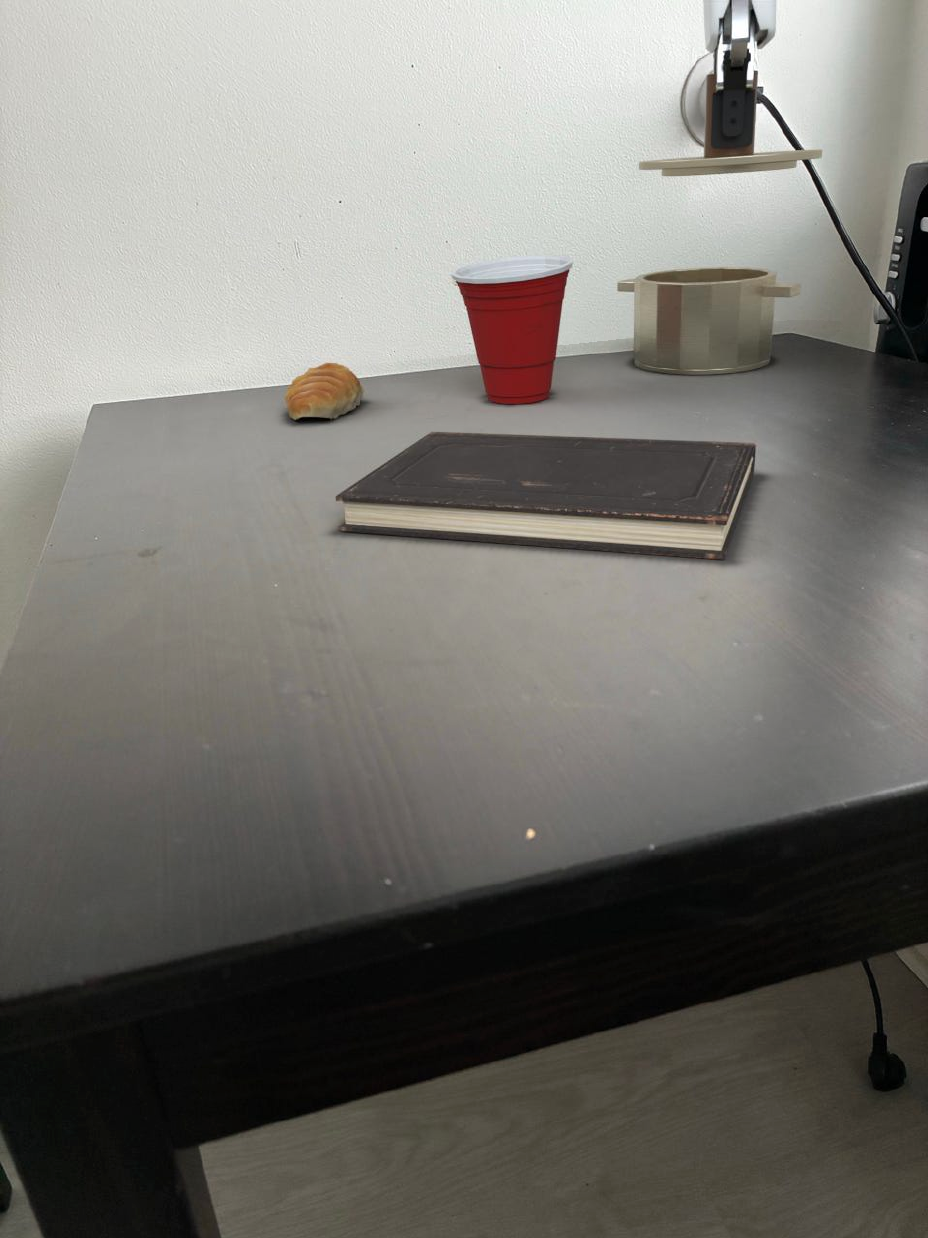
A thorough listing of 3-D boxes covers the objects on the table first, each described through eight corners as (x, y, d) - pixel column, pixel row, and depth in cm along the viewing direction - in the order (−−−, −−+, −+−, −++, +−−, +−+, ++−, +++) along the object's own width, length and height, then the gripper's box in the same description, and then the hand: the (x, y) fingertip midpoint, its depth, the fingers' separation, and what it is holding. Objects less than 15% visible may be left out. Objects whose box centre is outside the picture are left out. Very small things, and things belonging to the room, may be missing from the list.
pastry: (347, 423, 87) (342, 379, 85) (272, 427, 87) (266, 383, 86) (367, 399, 95) (363, 359, 94) (298, 402, 96) (293, 362, 94)
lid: (690, 170, 92) (693, 82, 89) (849, 162, 83) (857, 64, 80) (605, 180, 82) (604, 81, 79) (774, 172, 73) (781, 60, 70)
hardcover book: (724, 560, 53) (726, 519, 52) (339, 531, 61) (335, 495, 60) (754, 474, 67) (756, 440, 66) (436, 459, 74) (434, 429, 73)
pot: (655, 344, 113) (656, 265, 109) (818, 356, 101) (825, 268, 98) (587, 366, 104) (586, 280, 100) (758, 381, 92) (764, 285, 89)
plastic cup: (434, 404, 92) (424, 267, 87) (507, 381, 99) (502, 254, 94) (528, 416, 85) (523, 269, 80) (598, 391, 92) (598, 254, 87)
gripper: (808, -162, 66) (789, 143, 74) (780, -106, 81) (766, 144, 88) (692, -148, 67) (685, 151, 75) (685, -95, 82) (680, 150, 90)
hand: (729, 144), depth 82 cm, fingers closed on lid, 4 cm apart
